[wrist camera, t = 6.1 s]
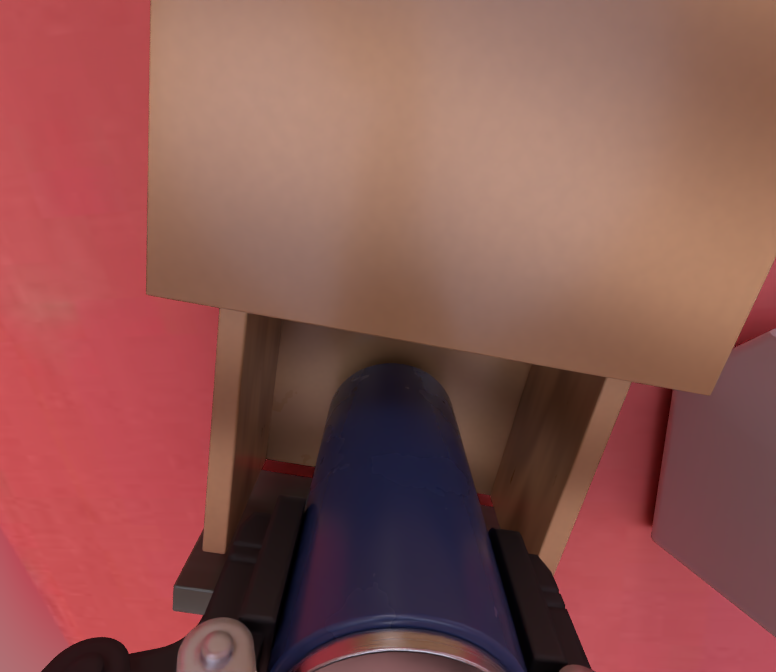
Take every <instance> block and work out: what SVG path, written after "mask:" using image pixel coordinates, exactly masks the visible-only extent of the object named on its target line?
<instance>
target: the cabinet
mask: <svg viewBox="0 0 776 672" xmlns="http://www.w3.org/2000/svg"><path fill="white" fill-rule="evenodd" d="M775 258H776V0H151V1H150V67H149V133H148V200H147V266H146V294H147V295H150V296H156V297H161V298H167V299H172V300H178V301H183V302H189V303H195V304H200V305H206V306H211V307H217V308H222V309H228V310H233V311H239V312H245V313H250V314H256V315H261V316H267V317H272V318H278V319H284V320H289V321H295V322H300V323H306V324H311V325H317V326H323V327H328V328H334V329H339V330H345V331H350V332H356V333H362V334H367V335H373V336H378V337H384V338H389V339H395V340H401V341H406V342H412V343H417V344H423V345H428V346H434V347H440V348H445V349H451V350H456V351H462V352H467V353H473V354H479V355H484V356H490V357H495V358H501V359H506V360H512V361H518V362H523V363H529V364H534V365H540V366H545V367H551V368H557V369H562V370H568V371H573V372H579V373H584V374H590V375H596V376H601V377H607V378H612V379H618V380H623V381H629V382H635V383H640V384H646V385H651V386H657V387H662V388H668V389H674V390H679V391H685V392H690V393H696V394H701V395H707V396H710V395H711V394H712V392H713V389H714V387H715V385H716V383H717V381H718V379H719V377H720V375H721V372H722V370H723V368H724V366H725V364H726V362H727V360H728V358H729V355H730V353H731V351H732V349H733V347H734V345H735V343H736V341H737V338H738V336H739V334H740V332H741V330H742V328H743V326H744V324H745V321H746V319H747V317H748V315H749V313H750V311H751V309H752V307H753V305H754V302H755V300H756V298H757V296H758V294H759V292H760V290H761V288H762V285H763V283H764V281H765V279H766V277H767V275H768V273H769V271H770V268H771V266H772V264H773V262H774V260H775Z"/></svg>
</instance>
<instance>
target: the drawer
mask: <svg viewBox="0 0 776 672" xmlns="http://www.w3.org/2000/svg"><path fill="white" fill-rule="evenodd" d="M384 363H398V364H405V365H409V366H413V367H416V368H418V369H421V370H422V371H424V372H426V373H428V374H429V375H431V376H432V377H434V378H435V379H436V380H437V381H438V382H439V383H440V384H441V385H442V387H443V388H444V389H445V391H446V392H447V394H448V396H449V398H450V400H451V403H452V407H453V410H454V414H455V417H456V421H457V424H458V428H459V431H460V435H461V439H462V442H463V446H464V449H465V453H466V456H467V460H468V463H469V467H470V471H471V474H472V478H473V481H474V485H475V488H476V492H477V493H480V494H486V495H490V497H491V500H492V503H493V507H492V506H485V505H480V506H481V510H482V513H483V517H484V520H485V524H486V527H487V531H489V530H490V528H499V529H505V530H512V531H518V532H519V533H520V534H521V535H522V538H523V541H524V543H525V546H526V549H527V551H528V553H529V554H535V555H538V556H539V557H540V559H541V560H542V561H543V562H544V563H545V565H546V566H547V567H548V568H549V570H550V571H551V572H552V575H553V576H554V573H555V571H556V568H557V566H558V563H559V561H560V558H561V556H562V553H563V551H564V548H565V546H566V544H567V541H568V539H569V536H570V534H571V531H572V529H573V526H574V524H575V521H576V519H577V516H578V514H579V511H580V509H581V506H582V504H583V501H584V499H585V496H586V494H587V491H588V489H589V487H590V484H591V482H592V479H593V477H594V474H595V472H596V469H597V467H598V464H599V462H600V459H601V457H602V454H603V452H604V449H605V447H606V444H607V442H608V439H609V437H610V434H611V432H612V429H613V427H614V425H615V422H616V420H617V417H618V415H619V412H620V410H621V407H622V405H623V402H624V400H625V397H626V395H627V392H628V390H629V387H630V385H631V382H629V381H623V380H618V379H612V378H607V377H601V376H596V375H590V374H584V373H579V372H573V371H568V370H562V369H557V368H551V367H545V366H540V365H534V364H529V363H523V362H518V361H512V360H506V359H501V358H495V357H490V356H484V355H479V354H473V353H467V352H462V351H456V350H451V349H445V348H440V347H434V346H428V345H423V344H417V343H412V342H406V341H401V340H395V339H389V338H384V337H378V336H373V335H367V334H362V333H356V332H350V331H345V330H339V329H334V328H328V327H323V326H317V325H311V324H306V323H300V322H295V321H289V320H284V319H278V318H272V317H267V316H261V315H256V314H250V313H245V312H239V311H233V310H228V309H222V308H219V320H218V335H217V349H216V363H215V377H214V391H213V406H212V420H211V434H210V448H209V462H208V477H207V491H206V505H205V519H204V529H203V531H202V533H201V535H200V537H199V538H198V540H197V542H196V544H195V546H194V548H193V550H192V552H191V554H190V556H189V558H188V559H187V561H186V563H185V565H184V567H183V569H182V571H181V573H180V575H179V577H178V579H177V581H176V582H175V584H174V591H173V610H174V611H179V612H186V613H193V614H200V615H204V613H205V611H206V608H207V606H208V603H209V601H210V599H211V596H212V594H213V591H214V589H215V586H216V584H217V581H218V579H219V577H220V574H221V572H222V569H223V567H224V564H225V562H226V560H227V558H228V555H229V552H230V550H231V547H232V545H233V543H234V540H235V538H236V535H237V533H238V530H239V528H240V525H241V524H242V523H243V522H244V521H245V520H246V519H247V518H249V517H250V516H251V515H252V514H253V513H254V512H261V513H268V514H273V511H274V508H275V505H276V502H277V499H278V496H279V494H282V495H288V496H295V497H301V498H306V503H307V499H308V495H309V491H310V486H311V482H312V478H309V477H303V476H297V475H290V474H284V473H278V472H272V471H265V470H262V467H263V465H264V463H265V460H266V459H268V460H275V461H281V462H287V463H293V464H300V465H306V466H312V467H315V466H316V461H317V457H318V453H319V449H320V445H321V440H322V436H323V432H324V428H325V424H326V420H327V415H328V411H329V407H330V403H331V401H332V398H333V396H334V394H335V393H336V391H337V389H338V388H339V387H340V386H341V384H342V383H343V382H344V381H345V380H346V379H348V378H349V377H350V376H352V375H353V374H354V373H356V372H358V371H360V370H362V369H364V368H367V367H369V366H373V365H377V364H384ZM305 507H306V505H305ZM304 512H305V511H304Z"/></svg>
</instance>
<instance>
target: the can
mask: <svg viewBox="0 0 776 672" xmlns="http://www.w3.org/2000/svg"><path fill="white" fill-rule="evenodd" d="M266 672H527V670H526V666H525V662H524V659H523V655H522V652H521V648H520V645H519V641H518V638H517V634H516V630H515V627H514V623H513V620H512V616H511V613H510V609H509V606H508V602H507V598H506V595H505V591H504V588H503V584H502V581H501V577H500V574H499V570H498V566H497V563H496V559H495V556H494V552H493V549H492V545H491V542H490V538H489V534H488V531H487V527H486V524H485V520H484V517H483V513H482V510H481V506H480V503H479V499H478V495H477V492H476V488H475V485H474V481H473V478H472V474H471V471H470V467H469V463H468V460H467V456H466V453H465V449H464V446H463V442H462V439H461V435H460V431H459V428H458V424H457V421H456V417H455V414H454V410H453V407H452V403H451V400H450V398H449V396H448V394H447V392H446V391H445V389H444V388H443V387H442V385H441V384H440V383H439V382H438V381H437V380H436V379H435V378H434V377H432V376H431V375H429V374H428V373H426V372H424V371H422V370H421V369H418V368H416V367H413V366H409V365H405V364H398V363H384V364H377V365H373V366H369V367H367V368H364V369H362V370H360V371H358V372H356V373H354V374H353V375H352V376H350V377H349V378H348V379H346V380H345V381H344V382H343V383H342V384H341V386H340V387H339V388H338V389H337V391H336V393H335V394H334V396H333V398H332V401H331V403H330V407H329V411H328V415H327V420H326V424H325V428H324V432H323V436H322V440H321V445H320V449H319V453H318V457H317V461H316V466H315V470H314V474H313V478H312V482H311V486H310V491H309V495H308V499H307V503H306V507H305V512H304V516H303V520H302V524H301V529H300V533H299V537H298V541H297V545H296V549H295V554H294V558H293V562H292V566H291V570H290V575H289V579H288V583H287V587H286V591H285V596H284V600H283V604H282V608H281V612H280V616H279V621H278V625H277V629H276V633H275V637H274V642H273V646H272V650H271V654H270V658H269V662H268V666H267V670H266Z"/></svg>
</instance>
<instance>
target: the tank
mask: <svg viewBox="0 0 776 672" xmlns="http://www.w3.org/2000/svg"><path fill="white" fill-rule="evenodd" d="M651 538H652V540H653V541H654V542H655V543H657V544H658V545H659V546H660V547H662V548H663V549H664V550H665V551H667V552H668V553H669V554H671V555H672V556H673V557H674V558H676V559H677V560H678V561H679V562H681V563H682V564H683V565H684V566H686V567H687V568H688V569H690V570H691V571H692V572H693V573H695V574H696V575H697V576H698V577H700V578H701V579H702V580H704V581H705V582H706V583H707V584H709V585H710V586H711V587H712V588H714V589H715V590H716V591H718V592H719V593H720V594H721V595H723V596H724V597H725V598H726V599H728V600H729V601H730V602H731V603H733V604H734V605H735V606H737V607H738V608H739V609H740V610H742V611H743V612H744V613H745V614H747V615H748V616H749V617H751V618H752V619H753V620H754V621H756V622H757V623H758V624H759V625H761V626H762V627H763V628H764V629H766V630H767V631H768V632H770V633H771V634H772V635H773V636H775V637H776V328H775V329H772V330H770V331H768V332H766V333H764V334H762V335H760V336H758V337H756V338H754V339H751V340H749V341H747V342H745V343H743V344H741V345H739V346H737V347H735V348H733V349H732V351H731V353H730V355H729V358H728V360H727V362H726V364H725V366H724V368H723V370H722V372H721V375H720V377H719V379H718V381H717V383H716V385H715V387H714V389H713V392H712V394H711V395H710V396H707V395H701V394H696V393H690V392H685V391H679V390H674V389H673V392H672V399H671V405H670V412H669V419H668V425H667V432H666V439H665V445H664V452H663V459H662V465H661V472H660V479H659V485H658V492H657V499H656V506H655V512H654V519H653V526H652V532H651Z"/></svg>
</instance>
